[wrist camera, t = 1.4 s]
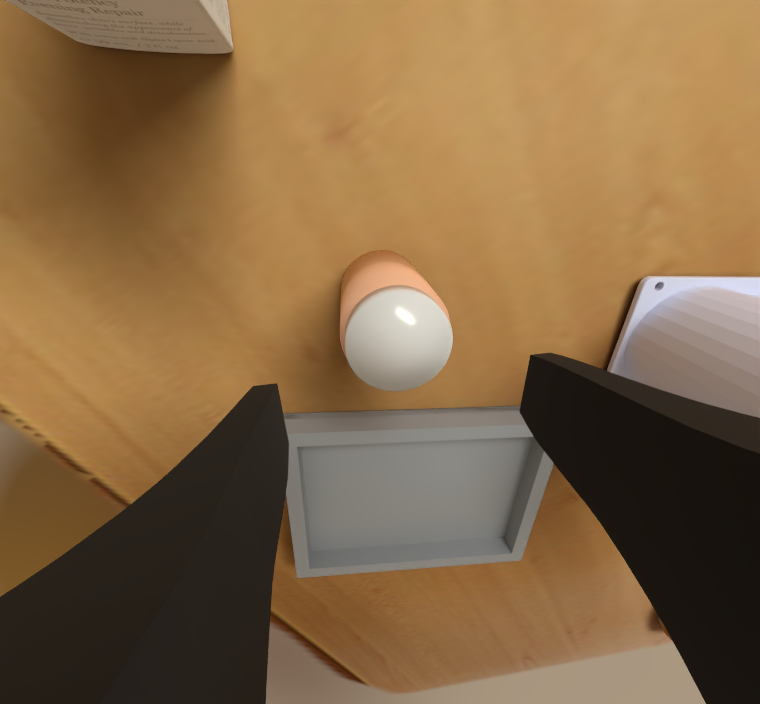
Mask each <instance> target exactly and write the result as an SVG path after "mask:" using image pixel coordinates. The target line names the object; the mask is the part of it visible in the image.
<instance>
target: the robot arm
mask: <svg viewBox="0 0 760 704" xmlns="http://www.w3.org/2000/svg"><path fill="white" fill-rule="evenodd" d="M657 283H658V285H657V287H656V288H655V286H656V284H657ZM519 412H520V414H521V416H522V417H523V419H524V421H525V423H526V425H527V426H528V428H529V430H530V431H531V433H532V435H533V436H534V438H535V440H536V441H537V442H538V444H539V445H540V446H541V448H542V449H543V450H544V451H545V453H546V454H547V455H548V457H549V458H550V459H551V460H552V462H553V463H554V464H555V465H556V467H557V468H558V469H559V470H560V472H561V473H562V474H563V475H564V477H565V478H566V479H567V480H568V482H569V483H570V484H571V485H572V487H573V488H574V489H575V490H576V492H577V493H578V494H579V495H580V497H581V498H582V499H583V500H584V502H585V503H586V504H587V505H588V507H589V508H590V509H591V511H592V512H593V513H594V515H595V516H596V518H597V519H598V520H599V522H600V523H601V524H602V526H603V527H604V529H605V531H606V532H607V534H608V535H609V537H610V538H611V540H612V541H613V543H614V544H615V546H616V547H617V549H618V550H619V552H620V553H621V555H622V556H623V558H624V560H625V561H626V563H627V564H628V566H629V568H630V569H631V571H632V573H633V574H634V576H635V577H636V579H637V581H638V582H639V584H640V586H641V587H642V589H643V591H644V592H645V594H646V595H647V597H648V599H649V600H650V602H651V604H652V605H653V607H654V609H655V611H656V613H657V614H658V616H659V618H660V620H661V621H662V623H663V625H664V627H665V628H666V630H667V632H668V634H669V635H670V637H671V639H672V641H673V642H674V644H675V646H676V648H677V649H678V651H679V653H680V655H681V657H682V659H683V660H684V662H685V664H686V666H687V668H688V670H689V672H690V674H691V676H692V677H693V680H694V681H695V683H696V685H697V687H698V689H699V691H700V693H701V695H702V697H703V699H704V701H705V702H706V704H760V277H704V276H648V277H645V278H643V279H642V280H641V281H640V283H639V285H638V288H637V290H636V293H635V296H634V298H633V301H632V304H631V307H630V309H629V312H628V315H627V317H626V320H625V323H624V325H623V328H622V331H621V333H620V336H619V339H618V342H617V344H616V347H615V350H614V352H613V355H612V358H611V360H610V363H609V366H608V368H607V371H606V370H603V369H600V368H597V367H594V366H592V365H589V364H586V363H583V362H580V361H577V360H574V359H571V358H568V357H564V356H561V355H557V354H553V353H544V354H535V355H530V361H529V366H528V371H527V376H526V381H525V386H524V391H523V396H522V401H521V406H520V411H519ZM288 464H289V440H288V436H287V431H286V426H285V421H284V416H283V411H282V406H281V401H280V396H279V391H278V386H277V384H268V385H259V386H253V387H252V388H251V389H250V390H249V391H248V392H247V393H246V394H245V396H244V397H243V398H242V399H241V400H240V401H239V402H238V403H237V404H236V406H235V407H234V408H233V409H232V410H231V411H230V412H229V413H228V414H227V415H226V417H225V418H224V419H223V420H222V421H221V422H220V423H219V424H218V425H217V426H216V427H215V428H214V429H213V430H212V432H211V433H210V434H209V435H208V436H207V437H206V438H205V439H204V440H203V441H202V442H201V443H200V444H198V445H197V446H196V447H195V448H194V449H193V450H192V451H191V452H190V453H189V454H188V455H187V456H186V457H185V458H184V459H183V460H182V461H181V462H180V463H179V464H178V465H177V466H176V467H175V468H173V469H172V470H171V471H170V472H169V473H168V474H167V475H166V476H164V477H163V478H162V479H161V480H160V481H159V482H158V483H156V484H155V485H154V486H153V487H152V488H150V489H149V490H148V491H147V492H146V493H144V494H143V495H142V496H141V497H139V498H138V499H137V500H136V501H135V502H133V503H132V504H131V505H130V506H128V507H127V508H126V509H125V510H123V511H122V512H121V513H119V514H118V515H117V516H115V517H114V518H113V519H112V520H110V521H109V522H107V523H106V524H104V525H103V526H102V527H100V528H99V529H98V530H96V531H95V532H94V533H92V534H91V535H89V536H88V537H87V538H85V539H84V540H83V541H81V542H80V543H79V544H77V545H76V546H74V547H73V548H72V549H70V550H69V551H68V552H66V553H65V554H64V555H62V556H61V557H59V558H58V559H57V560H55V561H54V562H52V563H50V564H49V565H48V566H46V567H45V568H43V569H42V570H40V571H39V572H37V573H36V574H34V575H33V576H31V577H30V578H28V579H27V580H25V581H24V582H22V583H21V584H19V585H18V586H16V587H15V588H13V589H12V590H10V591H9V592H7V593H5V594H4V595H3V596H1V597H0V704H265V703H266V682H267V681H266V680H267V663H268V643H269V626H270V611H271V595H272V582H273V573H274V565H275V558H276V552H277V545H278V539H279V533H280V526H281V520H282V514H283V507H284V501H285V494H286V488H287V481H288Z"/></svg>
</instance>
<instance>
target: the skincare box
mask: <svg viewBox="0 0 760 704" xmlns="http://www.w3.org/2000/svg"><path fill="white" fill-rule="evenodd" d="M6 1H8V2H9V3H11V4H13V5H15V6H16V7H18V8H20V9H21V10H23V11H25V12H27V13H28V14H30V15H32V16H33V17H35V18H37V19H39V20H40V21H42V22H44V23H46V24H47V25H49V26H51V27H53V28H54V29H56V30H58V31H60V32H61V33H63V34H65V35H67V36H68V37H70V38H72V39H73V40H75V41H78V42H81V43H85V44H88V45H94V46H101V47H109V48H118V49H127V50H137V51H151V52H169V53H200V54H220V53H230V52H232V51H233V50H234V48H233V43H232V36H231V29H230V19H229V11H228V3H227V0H6Z"/></svg>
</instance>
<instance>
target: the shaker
mask: <svg viewBox="0 0 760 704" xmlns="http://www.w3.org/2000/svg"><path fill="white" fill-rule="evenodd" d="M340 342H341V347H342V350H343V352H344V355H345V356H346V358H347V360H348V362H349V365H350V367H351V368H352V370H353V371H354V373H355V374H356V375H357V376H358V377H359V378H360V379H361V380H362V381H364V382H365V383H367V384H368V385H370V386H372V387H375V388H377V389H381V390H386V391H405V390H410V389H413V388H416V387H419V386H421V385H423V384H425V383H426V382H428V381H429V380H431V379H432V378H434V377H435V376H436V375H437V374H438V373H439V372H440V370H441V369H442V368H443V367H444V365H445V364H446V362H447V360H448V358H449V355H450V353H451V349H452V342H453V336H452V329H451V325H450V319H449V314H448V312H447V309H446V307H445V305H444V304H443V302H442V301H441V299H440V298H439V297H438V295H437V294H436V293H435V292H434V291H433V289H432V288H431V287H430V286H429V285H428V283H427V282H426V281H425V280H424V279H423V277H422V276H421V275H420V274H419V272H418V271H417V270H416V269H415V268H414V266H413V265H412V264H411V263H410V262H409V261H408V260H407V259H406V258H404V257H403V256H401V255H399V254H397V253H395V252H391V251H385V250H379V251H372V252H369V253H366V254H364V255H362V256H360V257H359V258H357V259H356V260H355V261H354V262H353V263H352V264H351V265H350V266H349V267H348V269H347V270H346V272H345V274H344V276H343V280H342V284H341V306H340Z"/></svg>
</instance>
